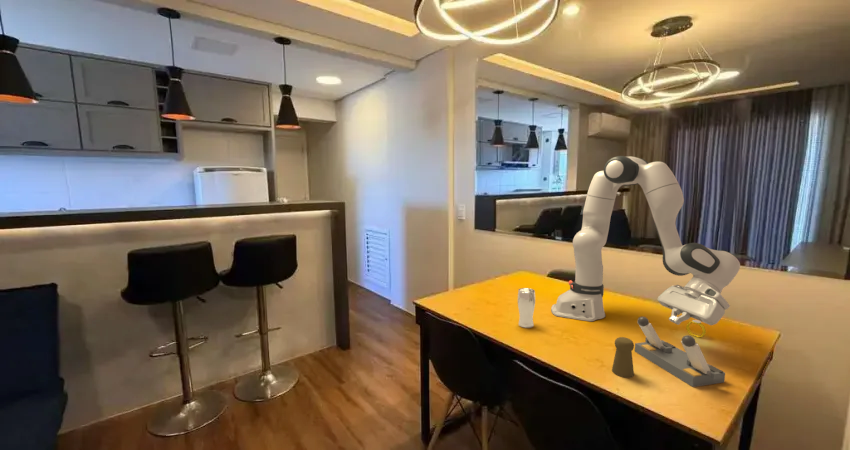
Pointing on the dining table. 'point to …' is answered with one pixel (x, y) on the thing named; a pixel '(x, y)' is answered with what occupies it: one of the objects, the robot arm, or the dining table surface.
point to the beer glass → (526, 307)
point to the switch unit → (678, 364)
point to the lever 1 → (650, 333)
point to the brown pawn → (623, 358)
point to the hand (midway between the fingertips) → (673, 322)
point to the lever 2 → (695, 354)
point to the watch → (698, 324)
